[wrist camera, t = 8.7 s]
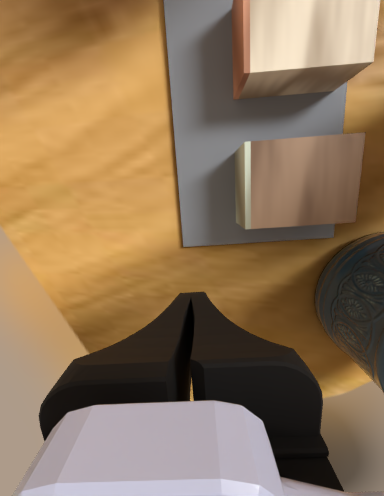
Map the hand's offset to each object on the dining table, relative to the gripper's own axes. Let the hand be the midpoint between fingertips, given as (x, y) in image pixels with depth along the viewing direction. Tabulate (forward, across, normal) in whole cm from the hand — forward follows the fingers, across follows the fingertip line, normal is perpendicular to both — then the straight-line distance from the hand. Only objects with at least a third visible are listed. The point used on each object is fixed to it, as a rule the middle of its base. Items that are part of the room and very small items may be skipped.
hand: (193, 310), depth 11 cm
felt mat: (+10, -6, -11) cm, 16 cm away
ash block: (+8, -4, -16) cm, 18 cm away
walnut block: (+8, -4, -6) cm, 11 cm away
